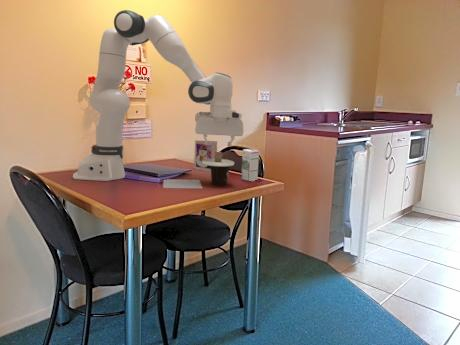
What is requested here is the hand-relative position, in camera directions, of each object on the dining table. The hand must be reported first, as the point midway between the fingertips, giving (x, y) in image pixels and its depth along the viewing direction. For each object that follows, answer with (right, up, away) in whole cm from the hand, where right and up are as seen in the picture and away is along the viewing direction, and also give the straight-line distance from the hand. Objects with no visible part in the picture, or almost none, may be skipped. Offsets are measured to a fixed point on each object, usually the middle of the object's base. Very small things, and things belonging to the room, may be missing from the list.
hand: (218, 145), depth 168 cm
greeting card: (-7, -10, +38) cm, 40 cm away
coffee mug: (-1, -17, +4) cm, 18 cm away
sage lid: (0, -7, +2) cm, 8 cm away
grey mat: (-16, -17, +2) cm, 23 cm away
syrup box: (+14, -15, +19) cm, 28 cm away
